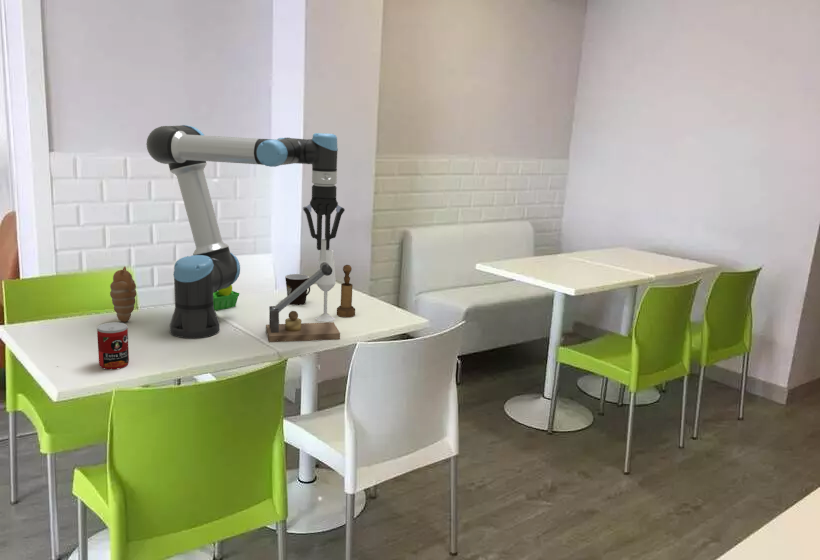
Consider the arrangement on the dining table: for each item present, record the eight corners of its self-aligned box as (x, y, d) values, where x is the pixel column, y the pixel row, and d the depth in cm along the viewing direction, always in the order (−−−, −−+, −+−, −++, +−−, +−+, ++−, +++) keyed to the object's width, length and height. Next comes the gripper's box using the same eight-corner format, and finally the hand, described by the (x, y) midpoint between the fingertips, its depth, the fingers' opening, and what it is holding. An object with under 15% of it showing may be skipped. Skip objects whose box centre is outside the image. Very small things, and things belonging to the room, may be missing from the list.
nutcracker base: (269, 342, 224) (269, 314, 222) (265, 330, 235) (266, 303, 233) (340, 339, 230) (340, 311, 228) (333, 328, 241) (334, 301, 239)
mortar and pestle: (354, 318, 254) (355, 267, 250) (335, 317, 254) (336, 266, 250) (355, 312, 260) (357, 263, 256) (337, 311, 260) (339, 262, 256)
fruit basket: (227, 302, 266) (227, 272, 263) (242, 307, 260) (242, 276, 258) (200, 307, 257) (200, 276, 255) (215, 313, 252) (215, 281, 249)
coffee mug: (283, 300, 272) (283, 274, 270) (306, 299, 275) (306, 273, 272) (288, 308, 261) (288, 281, 259) (311, 307, 264) (312, 281, 262)
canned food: (103, 371, 194) (101, 332, 191) (95, 362, 200) (93, 324, 197) (132, 367, 198) (131, 328, 196) (124, 358, 204) (122, 320, 202)
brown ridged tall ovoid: (134, 325, 234) (132, 271, 229) (108, 325, 232) (105, 270, 228) (140, 318, 242) (138, 265, 238) (115, 317, 241) (112, 264, 237)
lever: (275, 320, 226) (268, 313, 225) (273, 314, 231) (267, 308, 230) (334, 271, 227) (328, 264, 226) (331, 267, 233) (325, 260, 232)
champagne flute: (336, 321, 249) (338, 252, 244) (317, 322, 247) (318, 252, 241) (332, 315, 255) (334, 248, 250) (313, 316, 253) (314, 248, 248)
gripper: (304, 185, 218) (303, 262, 223) (347, 186, 221) (345, 262, 227) (301, 183, 225) (300, 257, 230) (343, 183, 228) (341, 257, 234)
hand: (322, 260), depth 229 cm, fingers closed
